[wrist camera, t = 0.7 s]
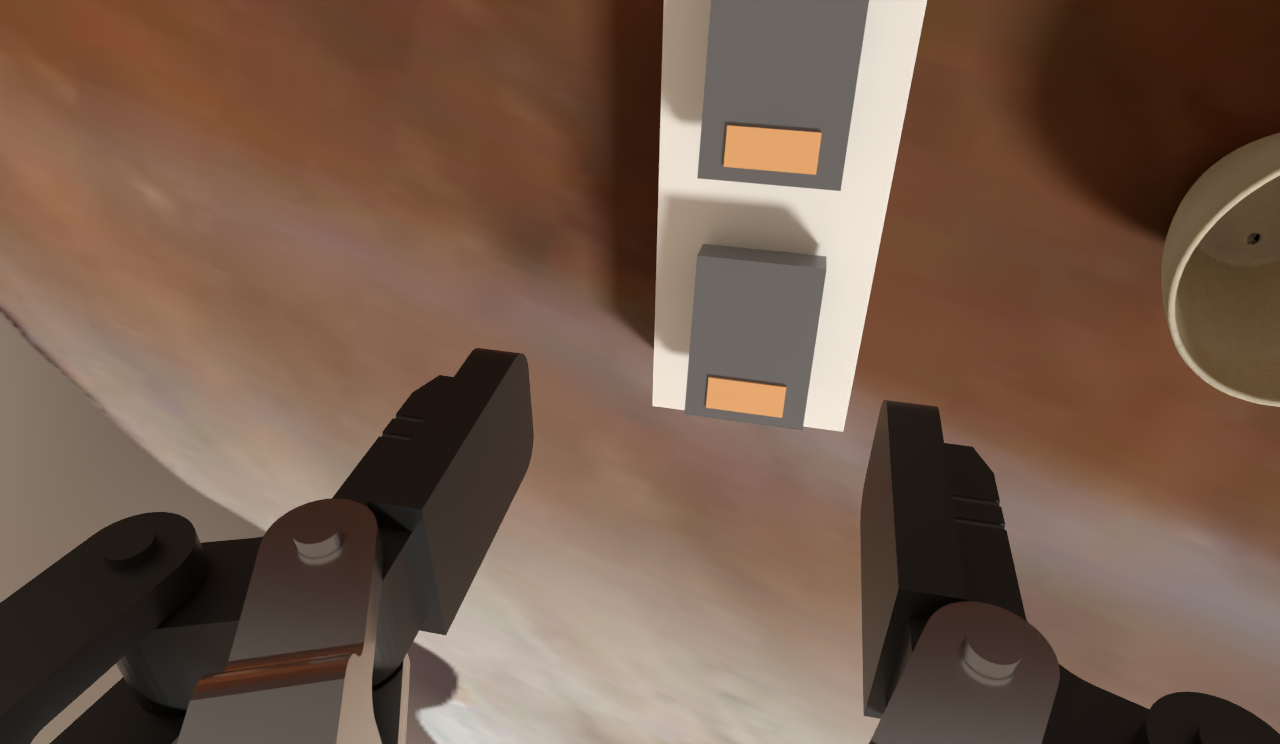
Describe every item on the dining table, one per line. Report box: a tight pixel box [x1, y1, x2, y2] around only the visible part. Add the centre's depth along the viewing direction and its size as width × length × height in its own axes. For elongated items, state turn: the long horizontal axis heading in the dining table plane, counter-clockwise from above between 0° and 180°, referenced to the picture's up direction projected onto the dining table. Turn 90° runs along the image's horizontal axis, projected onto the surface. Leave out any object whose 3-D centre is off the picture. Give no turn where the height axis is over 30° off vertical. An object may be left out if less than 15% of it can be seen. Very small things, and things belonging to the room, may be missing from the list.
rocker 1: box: [697, 0, 869, 191], centre depth 28 cm, size 5×7×2 cm
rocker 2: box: [684, 244, 827, 430], centre depth 34 cm, size 5×7×2 cm
